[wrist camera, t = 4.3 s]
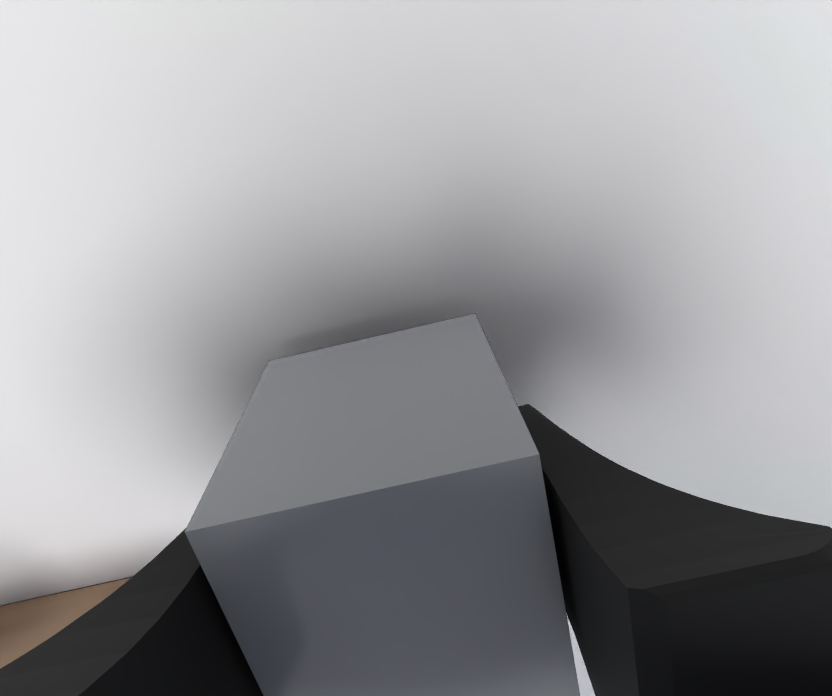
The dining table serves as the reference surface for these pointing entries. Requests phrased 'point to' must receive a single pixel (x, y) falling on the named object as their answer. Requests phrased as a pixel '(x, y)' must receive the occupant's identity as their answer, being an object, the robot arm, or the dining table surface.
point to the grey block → (388, 526)
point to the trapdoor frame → (45, 617)
